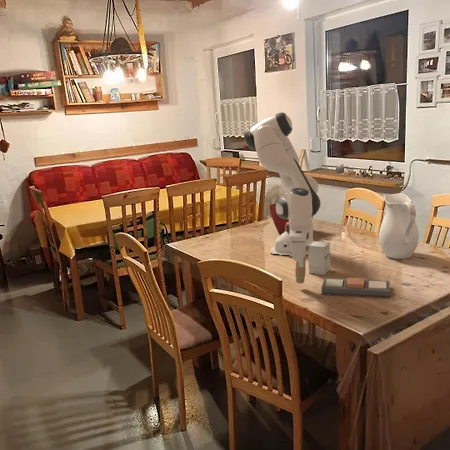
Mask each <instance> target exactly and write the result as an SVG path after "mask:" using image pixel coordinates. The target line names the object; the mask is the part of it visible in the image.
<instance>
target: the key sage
mask: <svg viewBox="0 0 450 450" xmlns="http://www.w3.org/2000/svg"><path fill="white" fill-rule="evenodd" d="M335 279H336V278H334V279H327V280H326V284H325V287H343V280H335Z"/></svg>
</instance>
